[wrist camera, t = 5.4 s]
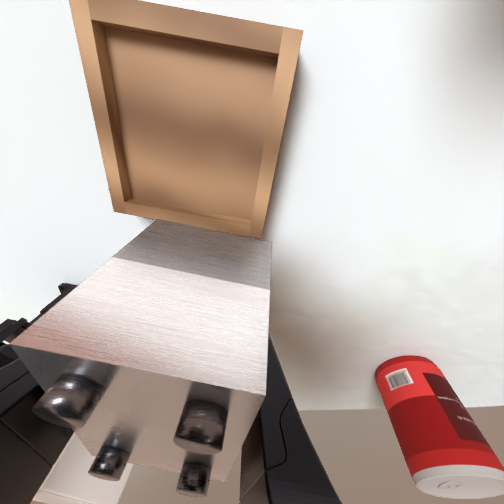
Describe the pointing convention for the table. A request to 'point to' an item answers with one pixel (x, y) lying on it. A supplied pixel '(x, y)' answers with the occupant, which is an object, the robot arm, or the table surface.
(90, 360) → the housing
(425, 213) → the table surface
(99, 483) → the supplement box
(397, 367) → the canned food
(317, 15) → the table surface
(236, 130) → the wooden tray
